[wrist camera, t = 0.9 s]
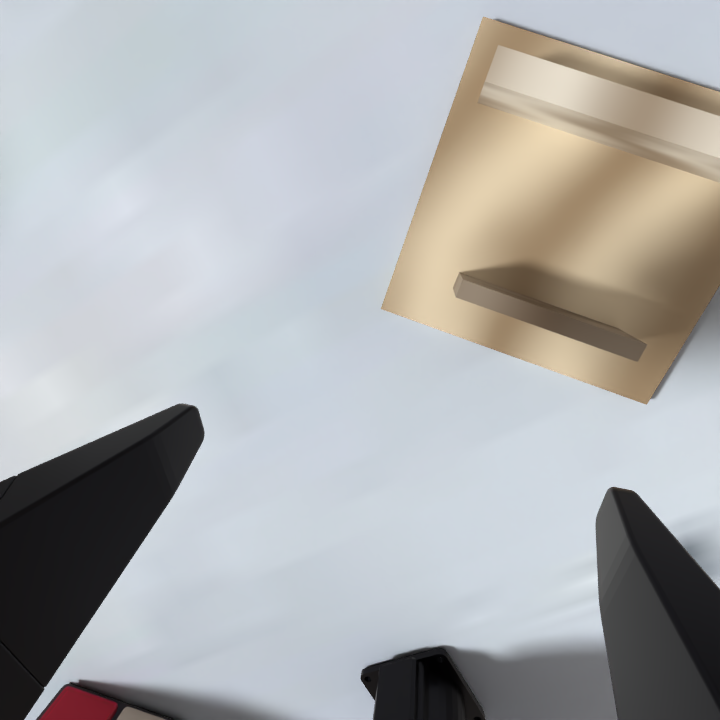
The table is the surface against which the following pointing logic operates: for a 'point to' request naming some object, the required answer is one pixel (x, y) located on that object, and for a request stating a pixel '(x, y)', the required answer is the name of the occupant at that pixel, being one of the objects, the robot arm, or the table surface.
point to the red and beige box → (92, 707)
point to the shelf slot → (568, 212)
